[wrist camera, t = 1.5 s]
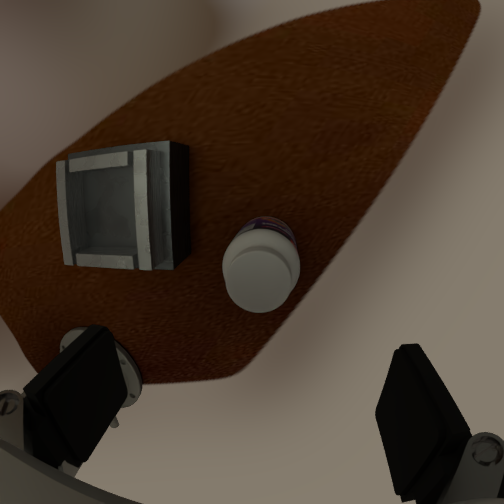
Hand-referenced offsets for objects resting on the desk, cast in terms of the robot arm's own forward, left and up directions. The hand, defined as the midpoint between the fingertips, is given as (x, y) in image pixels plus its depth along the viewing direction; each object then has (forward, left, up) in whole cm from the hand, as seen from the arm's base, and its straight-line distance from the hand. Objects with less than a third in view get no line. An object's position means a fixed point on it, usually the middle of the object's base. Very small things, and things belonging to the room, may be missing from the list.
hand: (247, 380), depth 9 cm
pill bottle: (0, 0, -19) cm, 19 cm away
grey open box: (+4, +12, -19) cm, 23 cm away
